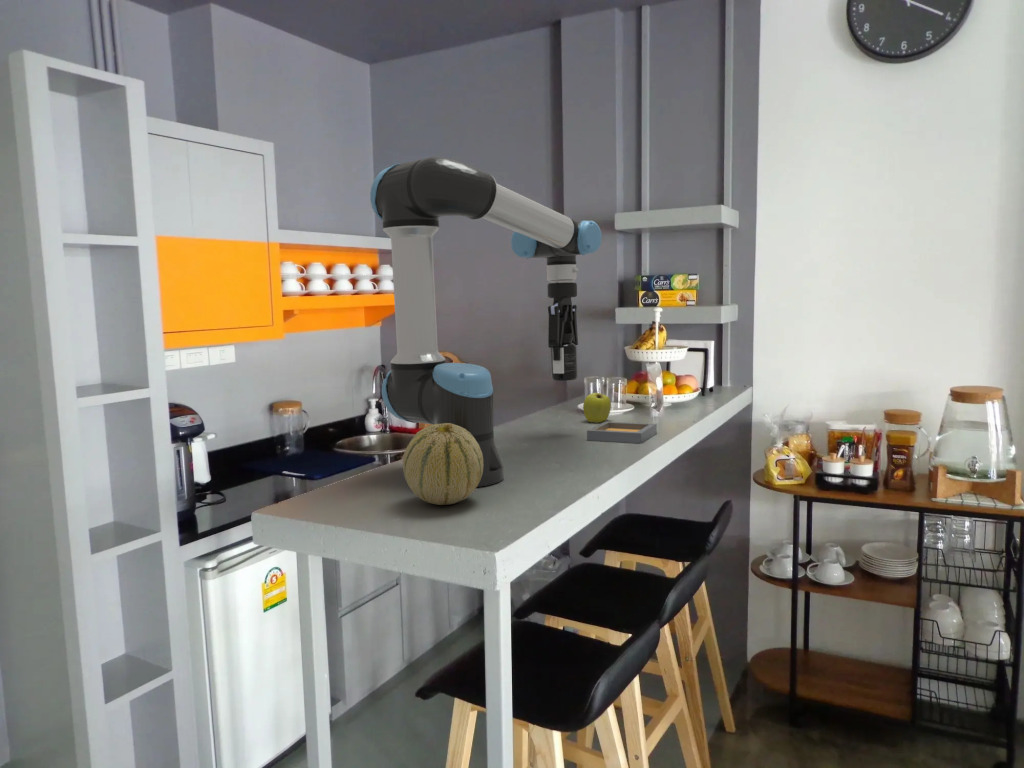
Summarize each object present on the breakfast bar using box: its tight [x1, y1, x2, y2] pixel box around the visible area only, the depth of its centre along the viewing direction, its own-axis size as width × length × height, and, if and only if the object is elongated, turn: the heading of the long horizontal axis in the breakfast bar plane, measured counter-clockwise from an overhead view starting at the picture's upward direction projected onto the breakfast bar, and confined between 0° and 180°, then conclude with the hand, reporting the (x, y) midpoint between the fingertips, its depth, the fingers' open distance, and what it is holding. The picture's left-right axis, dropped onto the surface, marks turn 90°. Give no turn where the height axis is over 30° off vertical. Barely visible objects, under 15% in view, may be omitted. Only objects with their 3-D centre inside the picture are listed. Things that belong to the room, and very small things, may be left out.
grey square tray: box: [586, 420, 658, 444], centre depth 194 cm, size 14×14×2 cm
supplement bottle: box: [549, 333, 579, 382], centre depth 196 cm, size 7×7×12 cm
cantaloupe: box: [402, 423, 484, 506], centre depth 137 cm, size 15×15×15 cm
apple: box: [582, 388, 612, 424], centre depth 217 cm, size 8×8×10 cm
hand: (564, 371), depth 196 cm, fingers closed on supplement bottle, 7 cm apart
